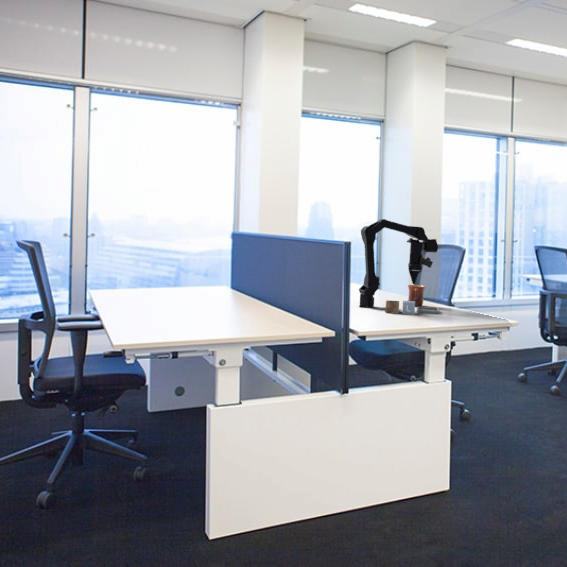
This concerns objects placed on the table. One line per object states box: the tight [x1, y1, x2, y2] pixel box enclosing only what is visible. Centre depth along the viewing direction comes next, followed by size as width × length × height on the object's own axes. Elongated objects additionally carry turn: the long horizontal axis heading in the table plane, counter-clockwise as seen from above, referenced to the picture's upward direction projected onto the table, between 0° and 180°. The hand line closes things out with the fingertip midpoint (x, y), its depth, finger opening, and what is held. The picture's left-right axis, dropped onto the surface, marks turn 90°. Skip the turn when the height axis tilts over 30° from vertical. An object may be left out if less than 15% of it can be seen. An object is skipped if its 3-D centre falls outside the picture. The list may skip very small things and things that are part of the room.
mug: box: [407, 284, 426, 308], centre depth 300 cm, size 12×9×10 cm
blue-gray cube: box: [401, 300, 416, 315], centre depth 277 cm, size 6×6×6 cm
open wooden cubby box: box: [385, 299, 400, 314], centre depth 279 cm, size 6×6×5 cm
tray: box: [416, 306, 440, 315], centre depth 283 cm, size 10×10×2 cm
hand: (413, 283), depth 296 cm, fingers open, 9 cm apart
